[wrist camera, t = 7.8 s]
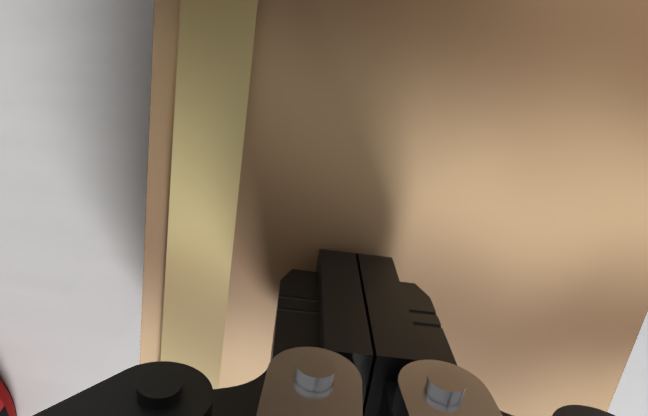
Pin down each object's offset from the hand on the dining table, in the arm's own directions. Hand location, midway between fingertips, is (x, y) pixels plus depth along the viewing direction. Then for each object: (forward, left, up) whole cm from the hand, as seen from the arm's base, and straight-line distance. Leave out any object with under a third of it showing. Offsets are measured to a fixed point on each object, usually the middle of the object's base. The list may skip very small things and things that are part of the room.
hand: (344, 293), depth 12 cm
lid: (0, +2, -1) cm, 2 cm away
